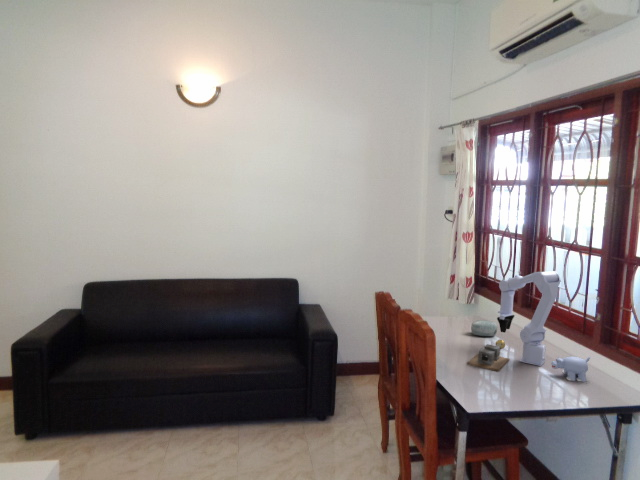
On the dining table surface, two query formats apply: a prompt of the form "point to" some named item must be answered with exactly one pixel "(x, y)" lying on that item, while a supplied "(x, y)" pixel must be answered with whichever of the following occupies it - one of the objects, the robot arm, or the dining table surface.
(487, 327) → the pale green pouf
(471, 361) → the bearing frame
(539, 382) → the dining table surface
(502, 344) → the shaft
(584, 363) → the hippopotamus toy
